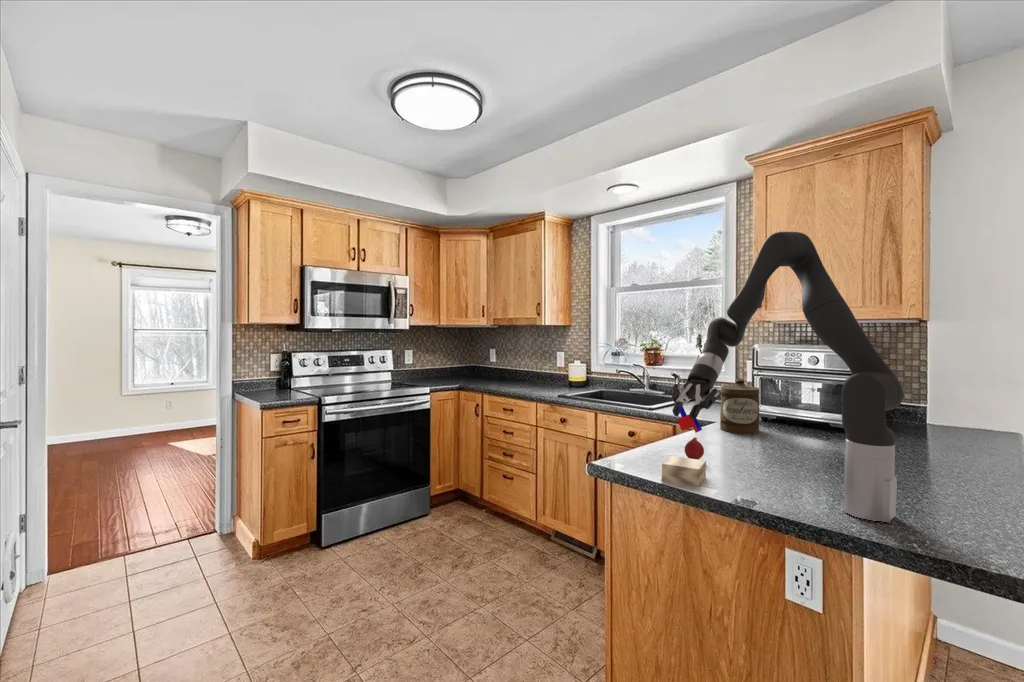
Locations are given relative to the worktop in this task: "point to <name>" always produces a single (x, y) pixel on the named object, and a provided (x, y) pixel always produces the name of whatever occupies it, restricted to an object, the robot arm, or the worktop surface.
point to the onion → (694, 449)
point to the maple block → (684, 470)
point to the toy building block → (688, 421)
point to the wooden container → (739, 408)
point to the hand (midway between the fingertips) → (683, 415)
